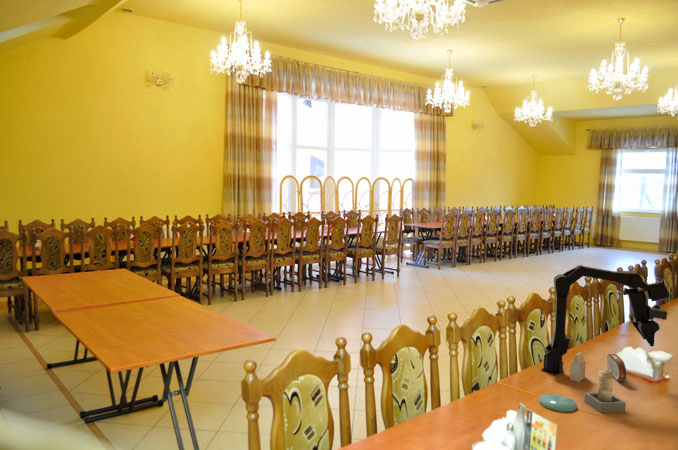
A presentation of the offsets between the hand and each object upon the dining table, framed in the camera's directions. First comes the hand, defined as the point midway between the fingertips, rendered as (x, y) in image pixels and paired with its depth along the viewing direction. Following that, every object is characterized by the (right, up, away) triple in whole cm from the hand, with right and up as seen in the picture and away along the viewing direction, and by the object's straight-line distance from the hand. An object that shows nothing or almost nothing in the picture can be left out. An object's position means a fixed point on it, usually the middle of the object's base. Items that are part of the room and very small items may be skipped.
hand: (648, 342), depth 195 cm
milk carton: (-26, -15, +4) cm, 30 cm away
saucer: (-44, -17, -20) cm, 51 cm away
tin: (-10, -15, +6) cm, 19 cm away
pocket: (-29, -17, -21) cm, 40 cm away
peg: (-29, -17, -21) cm, 40 cm away
